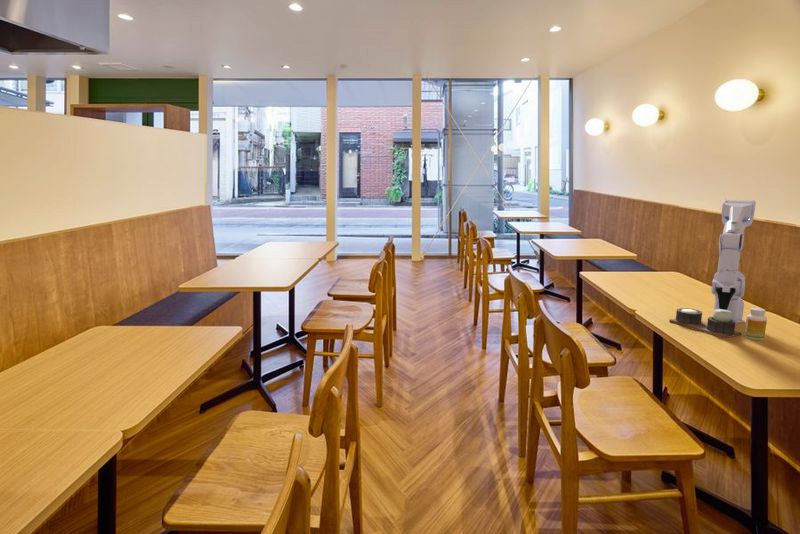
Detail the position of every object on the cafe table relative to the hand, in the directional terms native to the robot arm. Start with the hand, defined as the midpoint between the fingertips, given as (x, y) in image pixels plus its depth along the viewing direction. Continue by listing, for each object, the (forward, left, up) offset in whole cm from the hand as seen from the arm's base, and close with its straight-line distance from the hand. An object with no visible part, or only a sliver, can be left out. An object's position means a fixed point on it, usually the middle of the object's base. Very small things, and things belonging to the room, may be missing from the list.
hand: (723, 309), depth 170 cm
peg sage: (0, 0, -4) cm, 4 cm away
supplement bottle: (-5, +8, -8) cm, 13 cm away
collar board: (0, -6, -8) cm, 10 cm away
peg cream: (0, -12, -7) cm, 14 cm away
